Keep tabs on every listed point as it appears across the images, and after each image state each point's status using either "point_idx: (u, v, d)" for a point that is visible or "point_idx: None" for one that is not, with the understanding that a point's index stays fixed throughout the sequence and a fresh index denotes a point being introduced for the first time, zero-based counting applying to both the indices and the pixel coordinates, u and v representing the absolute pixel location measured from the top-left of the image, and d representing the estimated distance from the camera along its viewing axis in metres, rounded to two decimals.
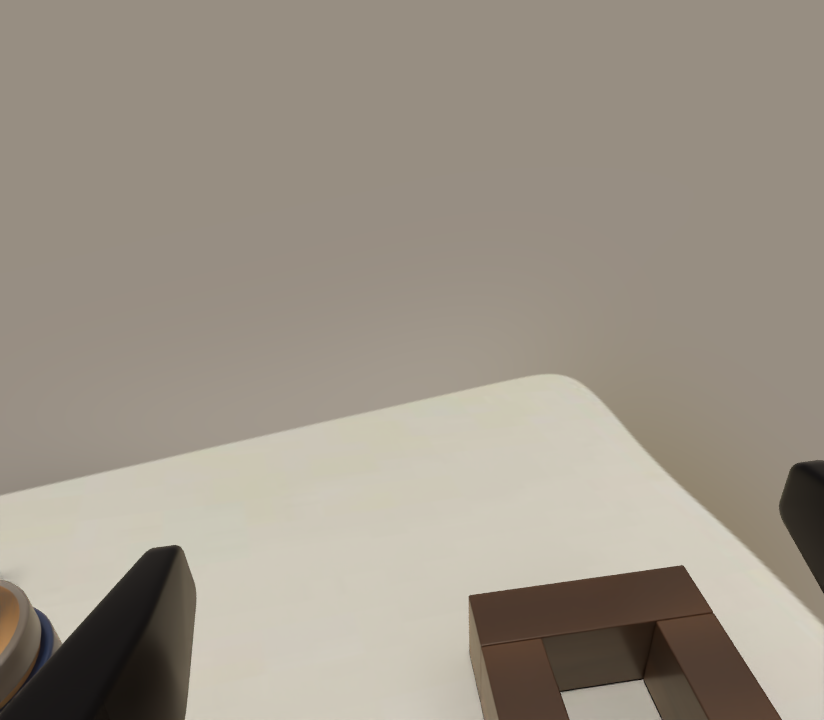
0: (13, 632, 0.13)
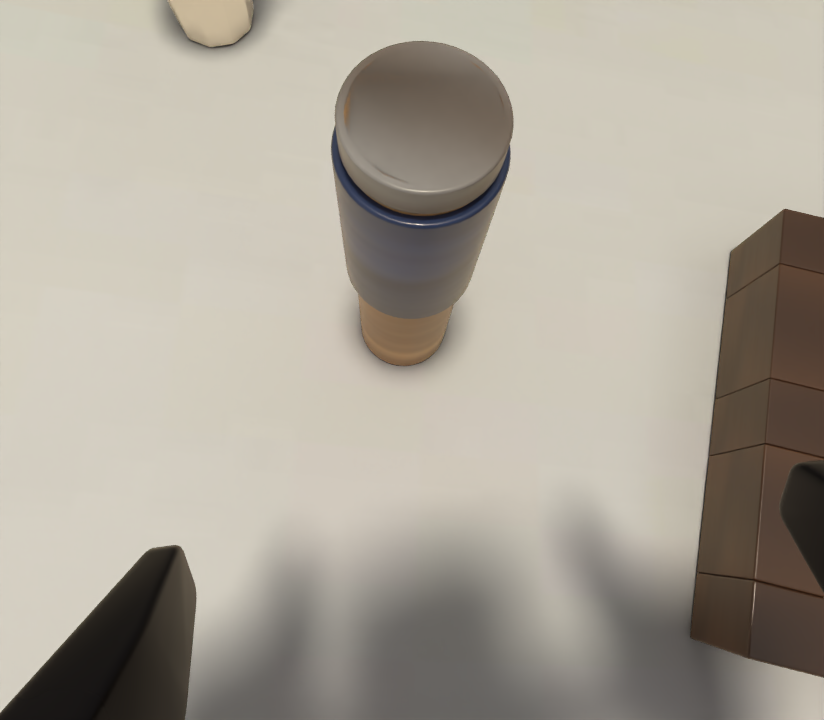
0: (502, 129, 0.12)
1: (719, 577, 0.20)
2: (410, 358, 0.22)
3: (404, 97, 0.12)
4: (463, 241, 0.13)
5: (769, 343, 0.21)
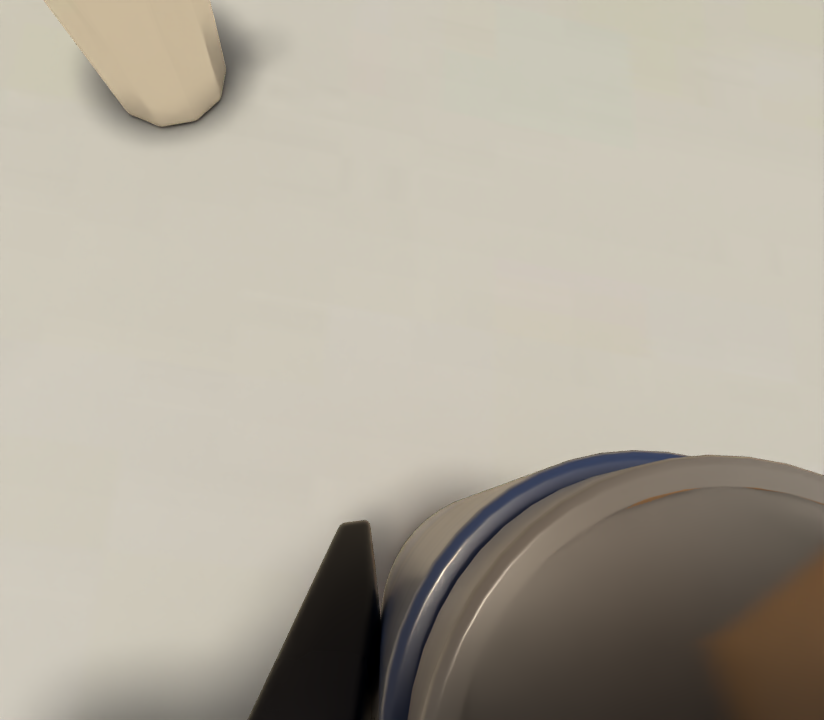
0: None
1: None
2: None
3: None
4: None
5: None
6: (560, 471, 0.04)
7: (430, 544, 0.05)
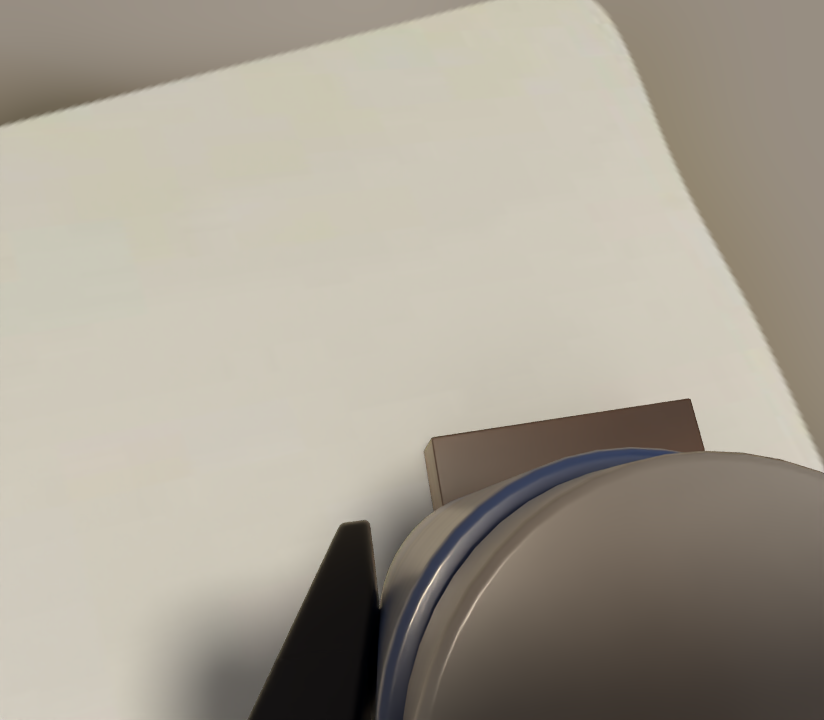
0: None
1: None
2: None
3: None
4: None
5: None
6: (556, 468, 0.04)
7: (427, 542, 0.05)
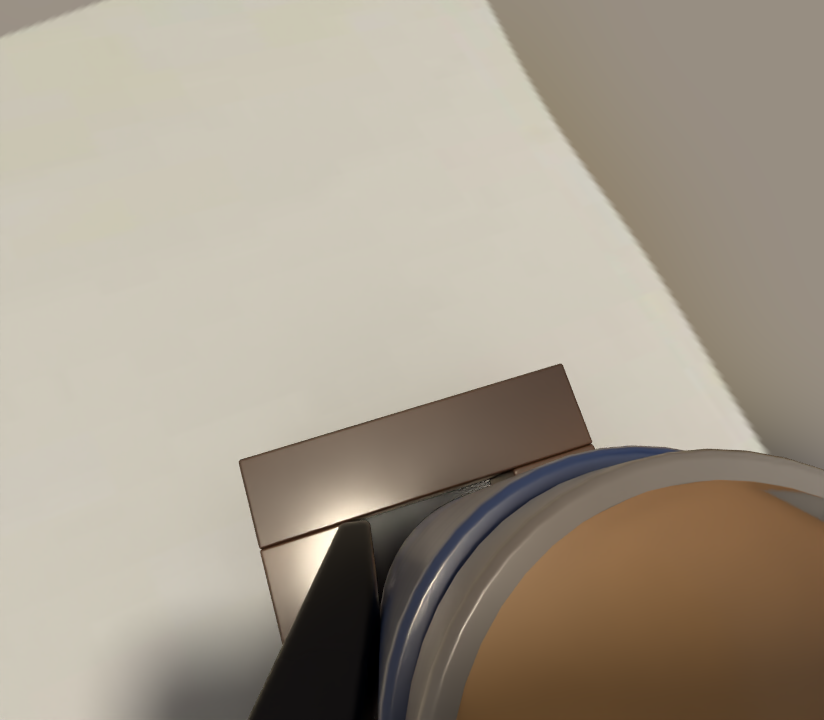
0: None
1: None
2: None
3: None
4: None
5: None
6: (559, 467, 0.04)
7: (429, 540, 0.05)
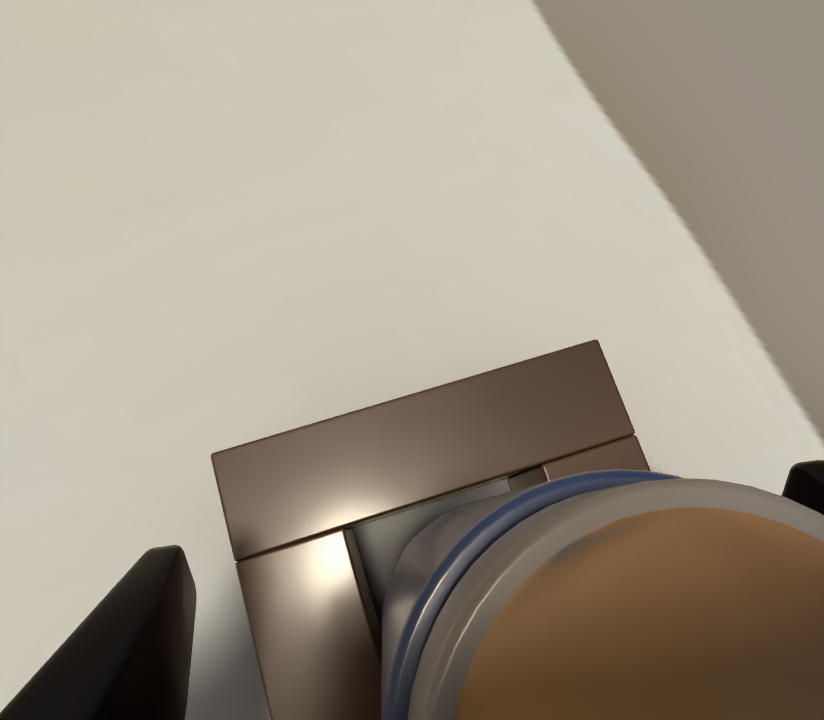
0: None
1: None
2: None
3: None
4: None
5: (272, 719, 0.11)
6: (548, 488, 0.05)
7: (429, 554, 0.06)
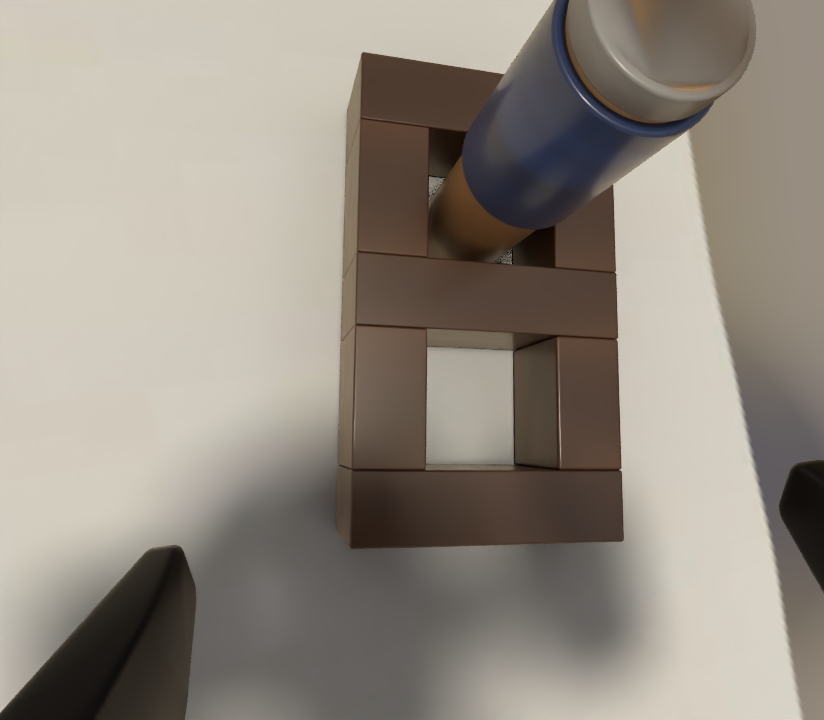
0: (741, 58, 0.11)
1: (343, 469, 0.19)
2: None
3: None
4: (632, 160, 0.13)
5: (356, 212, 0.19)
6: None
7: None
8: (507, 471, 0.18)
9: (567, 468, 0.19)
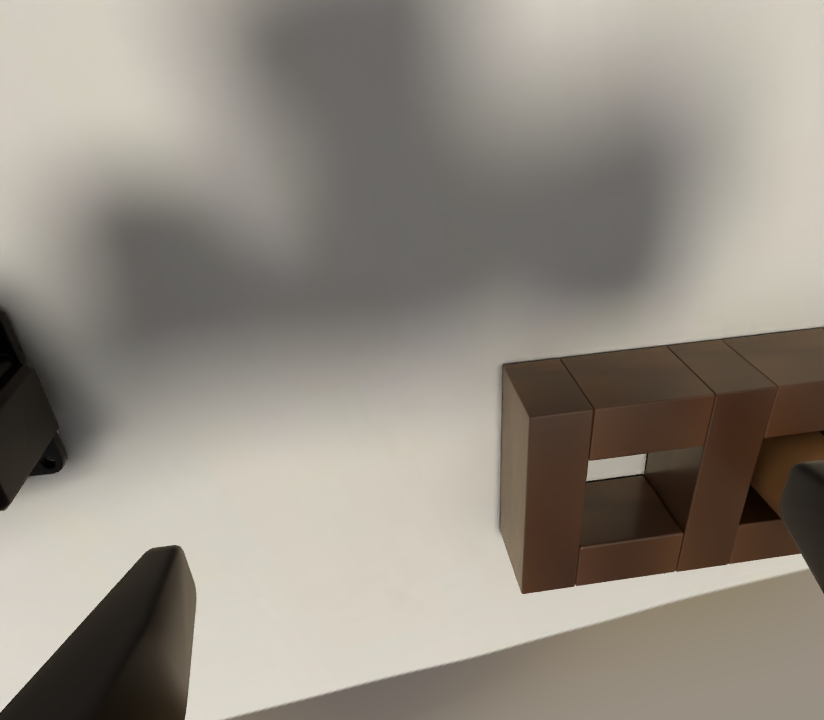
0: None
1: (572, 379, 0.22)
2: None
3: None
4: None
5: (809, 379, 0.21)
6: None
7: None
8: (582, 515, 0.23)
9: (580, 553, 0.24)
